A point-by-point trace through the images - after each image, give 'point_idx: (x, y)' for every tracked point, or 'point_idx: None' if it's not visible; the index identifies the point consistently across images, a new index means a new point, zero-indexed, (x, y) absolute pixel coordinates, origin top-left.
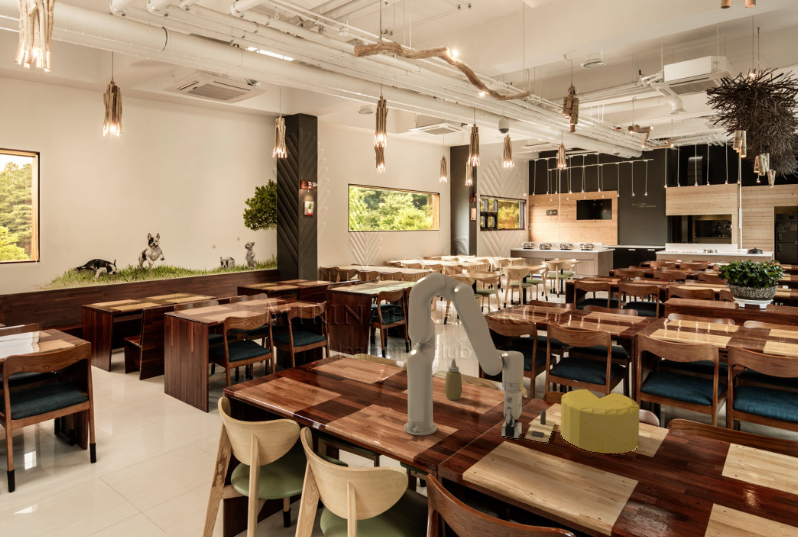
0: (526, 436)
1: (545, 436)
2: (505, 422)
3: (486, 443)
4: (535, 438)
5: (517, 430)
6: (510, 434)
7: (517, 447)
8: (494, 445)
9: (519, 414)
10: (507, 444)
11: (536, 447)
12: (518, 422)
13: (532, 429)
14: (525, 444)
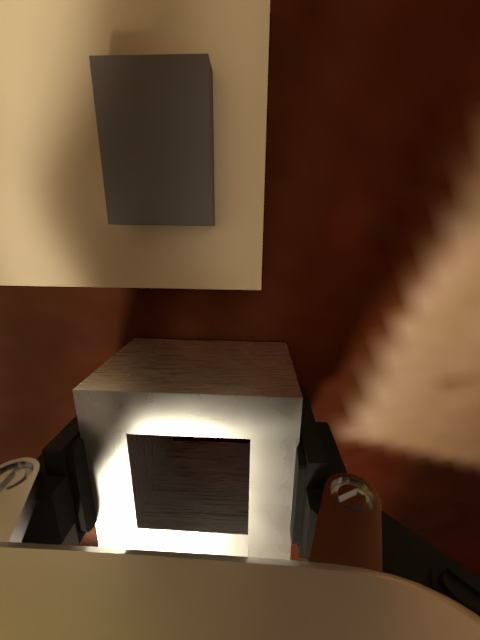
0: (252, 275)
1: (152, 40)
2: (164, 549)
3: (438, 534)
4: (263, 166)
5: (297, 394)
6: (327, 431)
7: (462, 318)
8: (463, 485)
9: (144, 615)
10: (416, 404)
11: (415, 133)
12: (79, 427)
13: (28, 246)
14: (370, 260)
